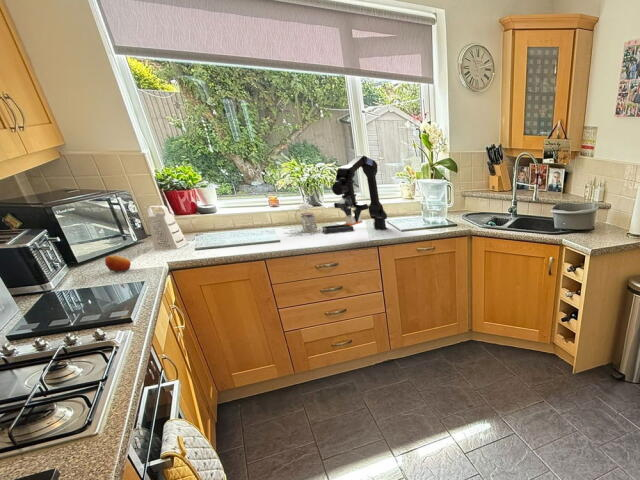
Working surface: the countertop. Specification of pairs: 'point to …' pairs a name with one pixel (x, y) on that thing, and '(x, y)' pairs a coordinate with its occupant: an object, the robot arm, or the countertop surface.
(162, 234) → the grater
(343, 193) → the robot arm
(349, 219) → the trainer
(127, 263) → the fruit
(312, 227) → the french press
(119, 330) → the countertop surface
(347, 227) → the shoe tray
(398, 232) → the countertop surface
